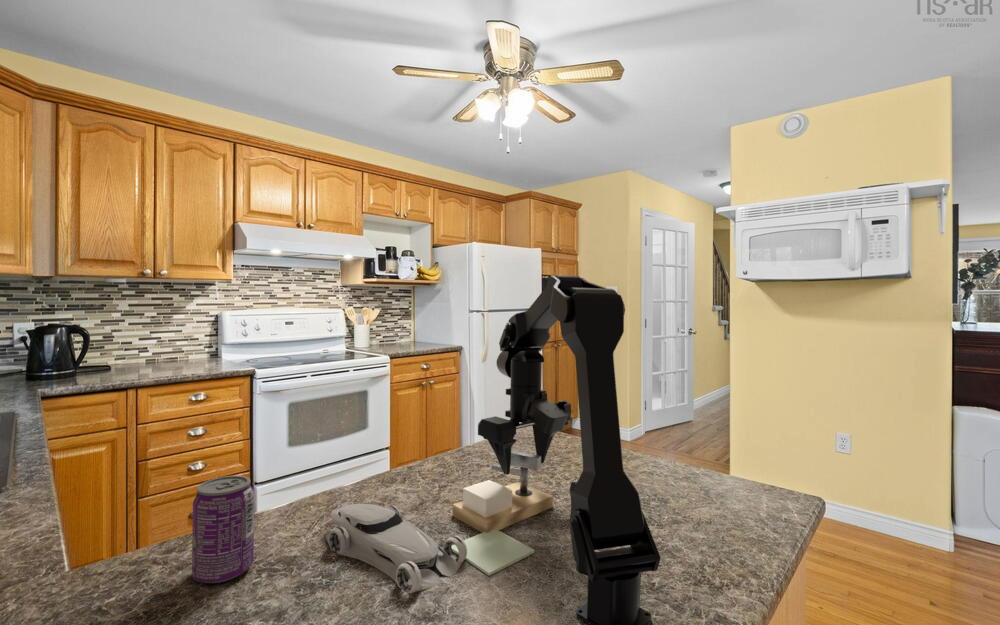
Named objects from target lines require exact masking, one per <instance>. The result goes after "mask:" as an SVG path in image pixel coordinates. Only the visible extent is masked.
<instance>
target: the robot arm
mask: <svg viewBox="0 0 1000 625" xmlns="http://www.w3.org/2000/svg"><path fill="white" fill-rule="evenodd" d="M625 312H626V306H625V301H624V300H623V297H622V295H621V294H619V293H618V292H617V291H616V290H615V289H613V288H606V287H605V286H602V285H598V284H596V283H592V282H590V281H587V280H586V278H583V277H580V276H579V275H572V274H571V275H566V274H554V275H553V276H549V277H548V279H547V282H546V287H545V288H543V290H542V291H541V293H540V294H539V296H537V298H536V299H535V300H534V301H533V302H532V304H531V305H530V307H529V308H528V309H527V310H525V311H521V312H517V313H515V314H513V315H512V316H511V317H510V318H509V319H508V322H506V324H505V326H504V329H503V331H502V334H501V336H500V339H499V342H498V344H499V350H500V351H501V352H500V353H499V355H498V356H497V359H496V367H497V368H496V369H498V371H499V373H501V374H502V375H503V376H506V377H508V378H510V388H506V389H505V395H506V396H510V398H509V400H510V401H509V407H510V408H509V410H505V415H504V416H505V417H507V418H509V419H507V418H503V417H499V416H491V417H486V418H482V419H480V420H479V422H478V424H477V435H478V436H480V437H483V439H484V440H486V441H488V443H489V445H490V446H491V448H492V451H493V452H494V454H495V456H496V459H497V461H498V464H500V466H501V468H502V471H503V472H502V473H503V474H504V475H508V476H509V474H510V473H509V472H510V467H511V465H510V464H511V451H512V447H513V446H514V445H515V443H516V442H517V441H518V440H517V439H515V436H516V434H517V430H520V429H524V428H527V427H528V428H529V427H532V432H533V439H534V446H535V453H536V454H535V455H539V456H541V464H544V462H545V461H546V457H547V454H548V451H549V448H550V446H551V443H552V440H553V438H554V437H555V435H556V434H557V433H559V432H562V431H564V427H565V426H567V425H569V422H570V421H572V404H571V403H570V402H569V401H567V400H565V399H564V400H560V401H558V402H557V403H556V402H554V401H553V402H551V401H549V400H548V393H547V390H545V389H542V380H543V379H542V378H543V376H542V375H543V374H542V371H543V366H542V365H543V363H544V362H545V358H544V356H543V355H542V353H541V351H543V349H544V347H545V346H546V344H547V343H548V342H549V340H550V338H551V333H550V331H551V330H550V329H551V328H552V327H553V326H554V325H555V324H556V323H557V322H559V325H560V333H561V337H562V339H563V340H564V342H565V343H566V345H567V346H568V347H569V349H570V351H571V352H572V353H573V355H574V359H575V360H574V361H575V370H576V371H575V372H576V386H577V399H578V413H579V414H578V415H579V425H580V426H579V429H580V441H581V454H582V455H581V457H582V472H581V473H580V476H579V477H578V480H577V481H572V482H571V484H570V487H569V496H570V502H571V503H570V516H569V519H568V520H569V528H570V537H571V547H572V555H573V559H574V561H575V563H576V565H575V566H576V567H575V569H576V572H577V573H578V574H580V575H584V576H587V595H586V596H587V597H586V598H587V602H586V603H584V604H583V605H581V606H580V607H579V608H577V609H576V610H575V612H576V613H575V614H576V617H578V618H579V619H581V620H582V621H583V622H586V623H587V624H589V625H646V624H648V623H649V622H650V621H651V620H652V613H651V612H649V611H646V610H645V609H644V608H642V607H640V605H641V586H642V585H641V580H642V579H641V578H642V573H646V572H657V571H658V569H659V566H660V562H661V556H660V553H659V550H658V548H657V545H656V543H655V540H654V538H653V534H652V531H651V530H650V526H649V524H648V523H647V520H646V517H645V515H644V513H643V512H644V511H643V509H642V504H641V498H640V494H639V491H638V490H637V488H636V486H635V485H634V483H633V482H632V481H631V480H630V478H629V477H628V475H627V474H626V473H625V472H626V471H625V470H624V465H623V464H624V463H623V462H624V461H623V451H622V439H621V430H620V428H621V427H620V417H619V415H620V414H619V407H618V406H619V405H618V393H617V382H616V371H615V358H614V352H615V350H616V349H617V347H618V344H619V342H620V341H621V339H622V336H623V335H624V332H625ZM626 546H627V547H626ZM618 547H619V548H618ZM620 547H621V548H620ZM612 548H613V549H612ZM605 549H606V550H605Z"/></svg>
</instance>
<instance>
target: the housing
mask: <svg viewBox="0 0 1000 625" xmlns="http://www.w3.org/2000/svg"><path fill="white" fill-rule="evenodd" d="M503 486H504V485H503ZM504 487H506V488H509V489H511V490H512V508H509V509H506V510H504V511H501V512H499V513H496V514H494V515H491V516H489V517H486V518H485V517H483V516H481V515H479V514H478V513H476V512H474V511H472V510H470V509H468V508H466V507H464V506H463V500H461V501H458V502H456V503H452V517H453V518H456V519H457V520H459V521H460V522H463V523H464V524H466V525H468V526H470V527H471V528H473V529H475V530H476V531H477V532H480V533H483V532H486V533H488V532H490V531H492V530H495V529H497V530H499V531H501V530H503V529H505V528H508V527H509V526H512V525H514V524H516V523H519V522H522V521H524V520H526V519H528V518H531V517H533V516H535V515H537V514H540V513H542V512H544V511H547V510H549V509H551V508H553V506H554V505H553V500H554V499H553V498H554V496H553V495H551V494H549V493H547V492H544V491H542V490H539V489H536V488H534V487H531V486H529V485H528V492H527V493H521V492H520V481H516V482H513V483H511V484H507V485H505V486H504Z"/></svg>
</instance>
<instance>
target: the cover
mask: <svg viewBox="0 0 1000 625" xmlns="http://www.w3.org/2000/svg"><path fill="white" fill-rule="evenodd" d="M462 501H463V506H464V507H466V508H468V509H470V510H472V511H474V512H476V513H478V514H479V515H481V516H483V517H485V518H486V517H489V516H491V515H494V514H496V513H499V512H501V511H504V510H506V509H509V508H512V490H511V489H509V488H506V487H504V485H503V484H500V483H497V482H495V481H492V480H489V479H488V480H484V481H481V482H478V483H476V484H473V485H469V486H465V487H463V488H462Z"/></svg>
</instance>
